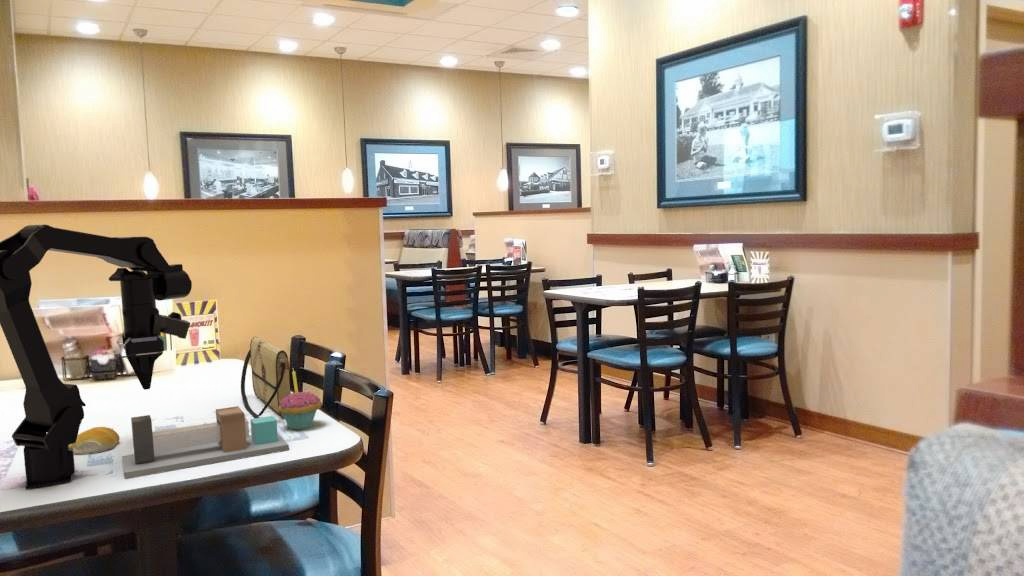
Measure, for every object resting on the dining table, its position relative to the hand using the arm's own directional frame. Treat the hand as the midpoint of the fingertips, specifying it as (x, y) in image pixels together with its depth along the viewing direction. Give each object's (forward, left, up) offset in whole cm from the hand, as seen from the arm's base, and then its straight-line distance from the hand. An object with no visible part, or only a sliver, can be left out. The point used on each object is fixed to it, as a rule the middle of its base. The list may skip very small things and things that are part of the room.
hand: (145, 384), depth 143 cm
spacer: (+17, -13, -9) cm, 23 cm away
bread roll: (-9, +6, -12) cm, 17 cm away
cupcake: (+28, -3, -12) cm, 31 cm away
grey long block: (+6, -13, -11) cm, 18 cm away
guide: (+9, -13, -12) cm, 20 cm away
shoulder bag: (+24, +18, -12) cm, 33 cm away
